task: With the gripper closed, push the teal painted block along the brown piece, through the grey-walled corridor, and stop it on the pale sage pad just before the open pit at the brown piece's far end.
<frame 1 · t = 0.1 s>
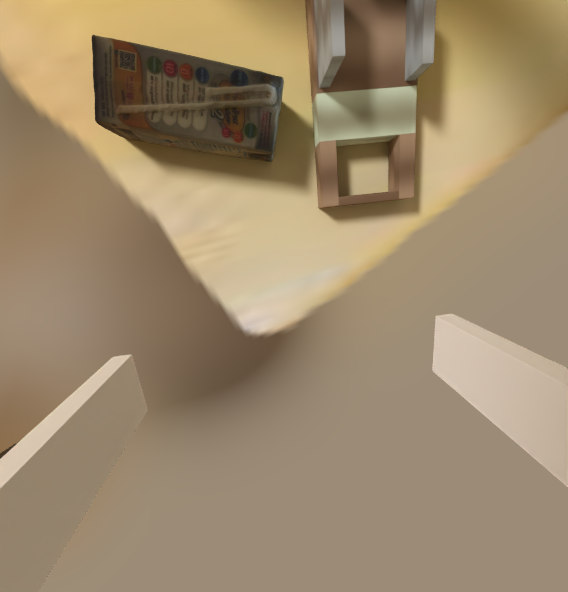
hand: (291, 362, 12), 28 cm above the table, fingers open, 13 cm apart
brown piece: (357, 77, 33), on the table
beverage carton: (202, 119, 33), on the table
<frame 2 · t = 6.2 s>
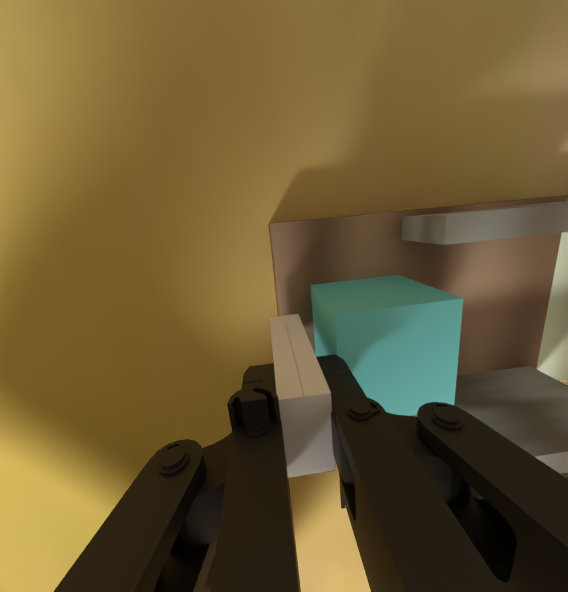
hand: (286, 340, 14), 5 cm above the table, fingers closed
brown piece: (472, 291, 19), on the table
teal block: (355, 321, 15), point 3 cm above the table, touching brown piece, gripper
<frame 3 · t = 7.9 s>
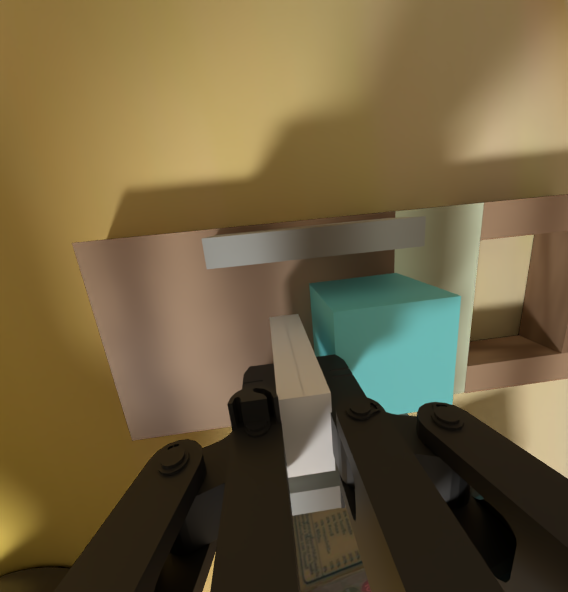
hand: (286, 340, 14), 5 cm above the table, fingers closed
brown piece: (337, 306, 18), on the table
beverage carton: (367, 498, 24), on the table
teal block: (354, 319, 15), point 3 cm above the table, touching brown piece, gripper
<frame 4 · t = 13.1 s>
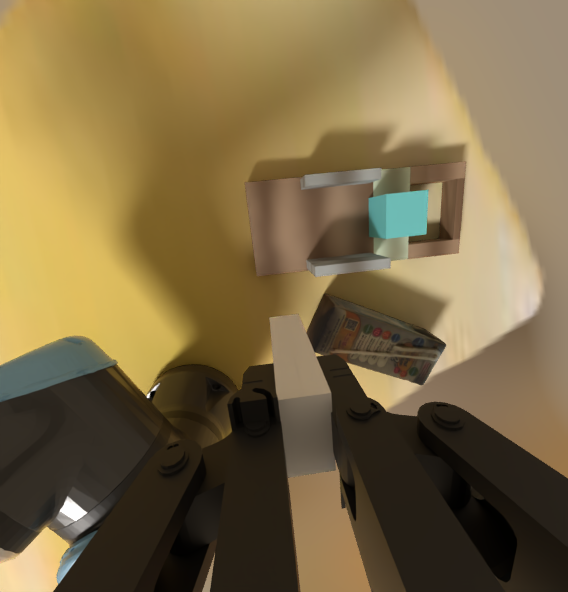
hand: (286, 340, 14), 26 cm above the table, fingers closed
brown piece: (348, 220, 38), on the table
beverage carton: (365, 331, 44), on the table
teal block: (386, 215, 36), point 3 cm above the table, touching brown piece
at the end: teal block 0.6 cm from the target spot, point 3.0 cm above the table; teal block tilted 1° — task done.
